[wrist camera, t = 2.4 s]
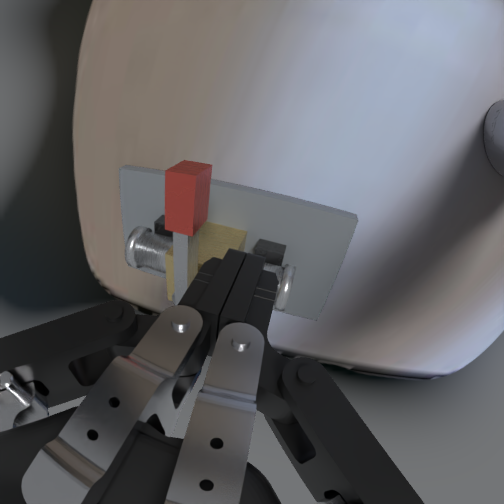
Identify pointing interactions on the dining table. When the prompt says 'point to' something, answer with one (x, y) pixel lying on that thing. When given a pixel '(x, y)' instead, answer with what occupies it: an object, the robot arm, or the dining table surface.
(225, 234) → the valve pipe
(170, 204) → the lever
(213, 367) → the robot arm
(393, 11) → the dining table surface
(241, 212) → the slate board
